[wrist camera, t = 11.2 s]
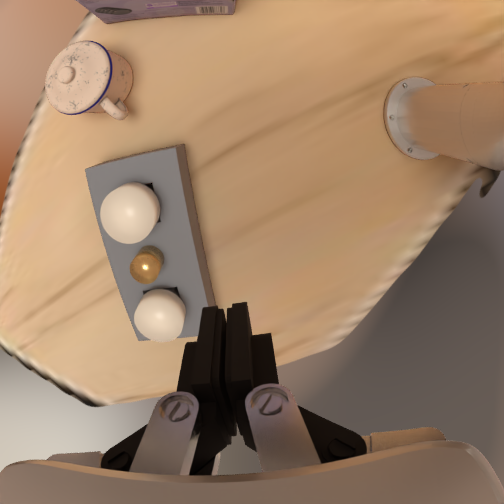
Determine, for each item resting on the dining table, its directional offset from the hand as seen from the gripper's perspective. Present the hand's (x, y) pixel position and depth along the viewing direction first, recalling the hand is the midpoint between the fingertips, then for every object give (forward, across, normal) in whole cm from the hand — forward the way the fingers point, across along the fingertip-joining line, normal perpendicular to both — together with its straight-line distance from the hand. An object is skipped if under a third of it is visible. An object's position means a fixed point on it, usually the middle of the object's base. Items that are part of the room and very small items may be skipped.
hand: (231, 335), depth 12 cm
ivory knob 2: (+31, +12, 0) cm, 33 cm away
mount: (+32, +12, +7) cm, 35 cm away
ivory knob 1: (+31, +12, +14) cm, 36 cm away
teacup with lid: (+32, +15, -16) cm, 39 cm away
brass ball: (+26, +12, +7) cm, 30 cm away
